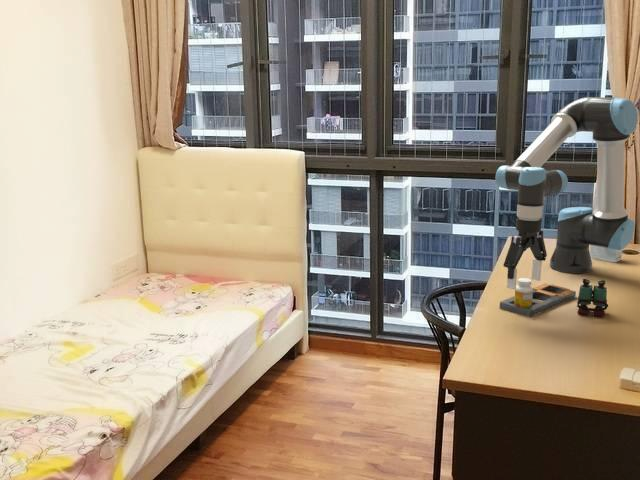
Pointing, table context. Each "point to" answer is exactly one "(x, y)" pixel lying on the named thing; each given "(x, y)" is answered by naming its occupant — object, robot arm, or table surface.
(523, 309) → the hole rail
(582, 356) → the table surface
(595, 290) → the binoculars
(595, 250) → the skincare box
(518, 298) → the supplement bottle
